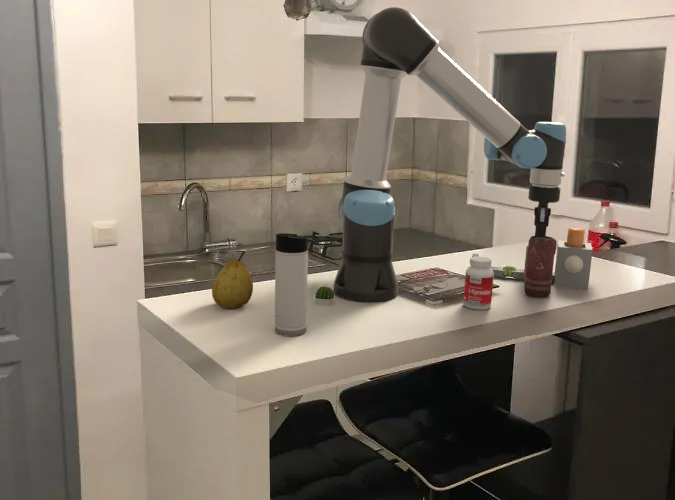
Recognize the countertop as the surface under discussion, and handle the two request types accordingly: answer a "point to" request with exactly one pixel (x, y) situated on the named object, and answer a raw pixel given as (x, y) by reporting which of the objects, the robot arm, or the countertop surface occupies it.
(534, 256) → the can
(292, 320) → the travel mug
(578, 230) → the plunger
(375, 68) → the robot arm
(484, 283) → the pill bottle
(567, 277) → the grey box
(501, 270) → the rail
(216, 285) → the fruit
